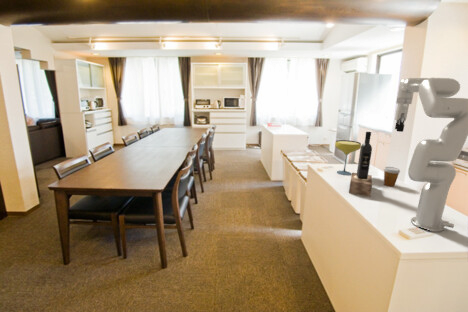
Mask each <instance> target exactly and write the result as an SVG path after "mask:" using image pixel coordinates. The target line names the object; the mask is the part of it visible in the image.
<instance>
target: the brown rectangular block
mask: <svg viewBox="0 0 468 312" xmlns="http://www.w3.org/2000/svg"><path fill="white" fill-rule="evenodd" d="M350 176H351V177H350V182H349V189H348V194H350V195H351V194H353V195H356V196H363V197H369V198H371V192H372V189H373V181H372V180H373V177H372V176H373V175H371V174H368V178H367V179H359V178H358V177H357V172H351V175H350Z"/></svg>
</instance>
